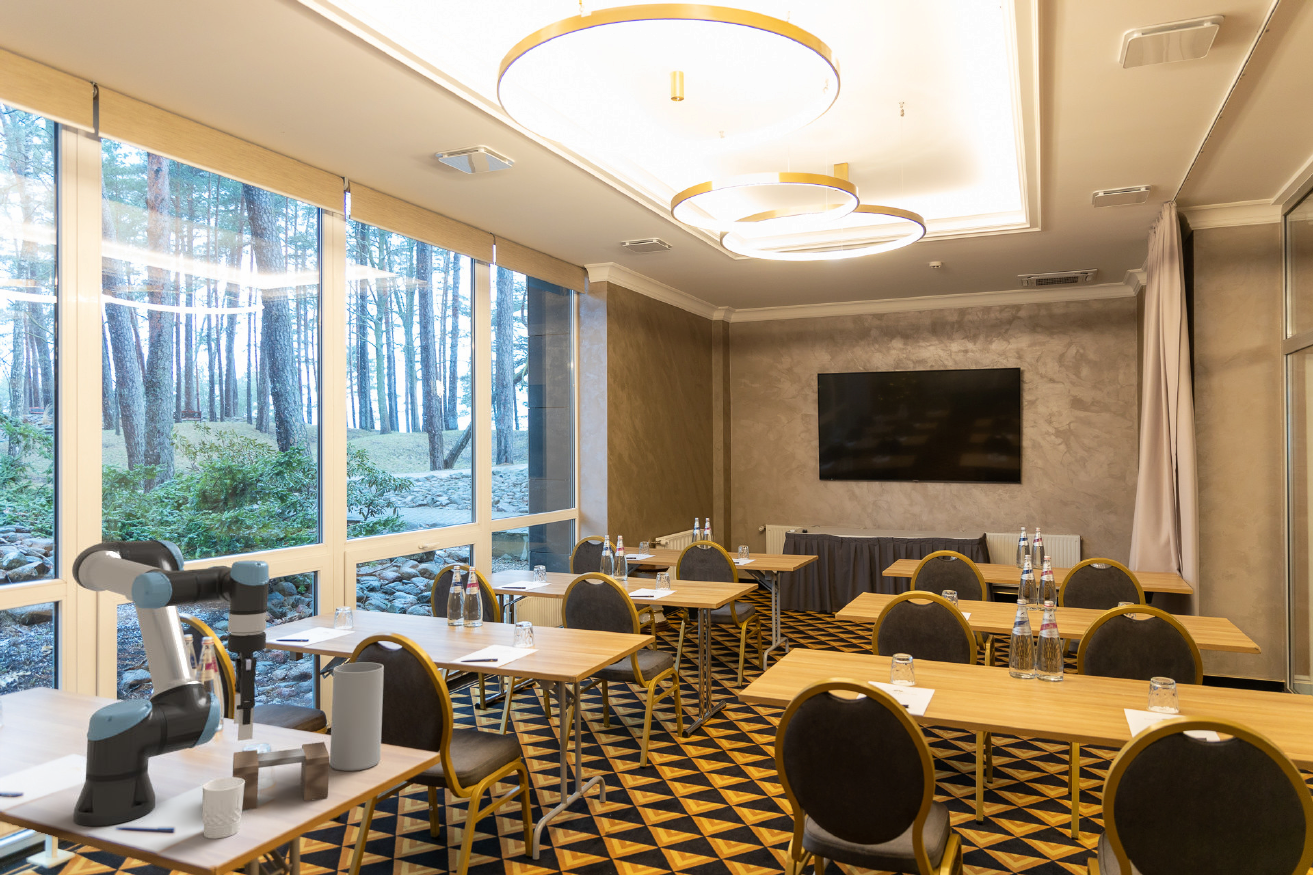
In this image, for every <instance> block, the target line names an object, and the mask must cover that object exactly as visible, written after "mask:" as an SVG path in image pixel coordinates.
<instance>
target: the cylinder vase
mask: <svg viewBox="0 0 1313 875" xmlns="http://www.w3.org/2000/svg"><path fill="white" fill-rule="evenodd" d="M384 668H385V667H384V664H382V663H377V662H365V661H363V662H350V663H344V664H340V665H336V666H334V667H333V674H332V675H333V676H332V681H333V682H332V699H331V701H332V702H331V704H332V705H331V727H330V728H331V729H330V751H329V752H330V754H329V766H331V768H332V769H334V770H337V771H342V772H343V771H344V772H345V771H346V772H355V771H356V772H357V771H362V770H366V769H367V770H368V769H369V768H373V767H374V766H377V765H378V764H379V762H380V761H381V751H382V749H381V748H382V727H383V726H382V724H383V699H384V696H383V695H384V674H385V673H384V671H385V670H384Z"/></svg>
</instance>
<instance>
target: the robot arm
mask: <svg viewBox="0 0 1313 875" xmlns="http://www.w3.org/2000/svg"><path fill="white" fill-rule="evenodd" d="M184 566H185V560H184V555H183V553H182V551H181V549H180V548H179V546H178V545H177V544H176V543H175V542H173V541H170V540H166V539H162V540H161V539H159V540H158V539H148V540H133V541H130V540H129V541H106V542H100V543H97V544H93V545H91V546H89V547H87V548H86V549H84V550H83V551H81V552H80V553H79V554H78V555H77V557H76V558H75V559H74V562H73V564H72V566H71V568H72V569H71V572H72V578H73V579H74V581H75V582H76V583H77V585H79V586H80V587H82V588H83V589H86V590H89V591H93V592H105V591H109V592H112V593H115V594H119V595H122V596H125V599H126V600H128V601H130V602H133V603H134V606H135V610H136V611H135V612H136V615H137V621H138V626H139V629H140V633H141V639H142V644H143V648H144V652H145V656H146V661H147V665H148V669H149V674H150V675H149V676H150V679H151V682H152V687H153V693H152V695H151V696H150V697H149V699H145V698H135V699H130V700H129V699H126V700H122V701H121V700H120V701H117V702H115V703H112V704H111V703H110V704H108V705H105V706H104V707H101V708H99V709H98V710H97V711H95V712H94V713H93V714H91V717H90V719H89V723H88V729H87V730H88V731H87V733H86V738H87V744H86V765H85V766H86V767H85V779H84V780H85V781H84V785H82V786H83V787H82V789H81V792H80V793H79V794H80V795H79V796H78V798H77V801H76V804H75V807H74V808H73V810H74V811H73V821H74V822H75V823H76V824H78V825H80V826H87V827H100V826H101V827H102V826H103V827H104V826H109V825H110V826H111V825H117V824H121V823H126V822H129V821H133V820H136V819H139V818H141V817H143V816H146V815H147V814H150V813H151V812H152V811H153V810H154V809H155V807H156V793H155V790H154V787H153V784H152V781H151V778H150V775H149V759H150V758H152V757H153V758H154V757H159V756H161V755H166V754H170V753H173V752H178V751H183V750H186V749H187V750H188V749H193V748H196V747H198V746H201V745H205V744H207V743H209V742H210V741H211V740H212V739H213V738H214V737H215V736H216V733H217V732H218V729H219V726H220V722H221V716H222V715H221V714H222V713H221V703H220V700H219V697H218V695H216V694H215V693H213V692H209V691H208V692H206V690H205V685H204V684H203V682H201V681H199V680H197V679H196V678H195V675H194V671H193V668H192V663H191V659H190V654H189V651H188V647H187V642H186V638H185V634H184V630H183V625H182V622H181V618H180V614H179V610H178V606H186V605H196V604H205V603H206V604H207V603H215V602H228V603H229V609H228V610H229V612H228V620H227V621H228V623H227V632H229V634H228V635H227V651H228V652H229V653H233V654H237V658H235V662H234V663H235V665H234V667H235V681H234V682H235V683H234V691H235V693H234V708H233V709H234V712H233V713H234V714H233V724H234V725H237V724H238V727H237V728H238V729H237V741H245V740H252V739H253V737H254V736H253V732H254V729H253V728H254V709H255V708H254V707H255V706H256V702H255V698H256V697H255V693H256V692H255V690H256V689H255V688H256V682H255V679H256V675H257V673H256V672H257V671H256V669H257V664H258V663H257V659H256V656H254V653H255V652H260V651H263V650H265V649H266V646H267V645H266V644H267V632H265V631H266V630H267V621H269V620H270V615H267V614H268V601H269V600H268V599H269V587H270V586H269V584H270V583H269V582H270V576H269V573H270V572H269V571H270V570H269V567H270V566H269V563H267V561H265V560H238V561H235V562H233V563H232V565H231V567H230V566H226V565H214V566H210V567H208V568H195V569H187V570H185V569H184Z"/></svg>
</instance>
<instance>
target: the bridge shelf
mask: <svg viewBox="0 0 1313 875" xmlns="http://www.w3.org/2000/svg"><path fill="white" fill-rule="evenodd" d="M325 743H326V742H325V741H322V742H314V743H313V742H312V743H305V744H302V745H301V748H293V749H284V750H277V751H276V750H275V751H268V752H260V753H258V749H254V750H253V749H252V750H245V751H237V752H233V755H232V756H233V758H232V777H236V778H242V779H244V780H245V785H244V796H243V806H242V811H248V810H253V809H257V808H258V790H259V769H260V768H267V767H268V768H269V767H276V766H277V767H278V766H284V765H292V764H300V763H301V765H300V787H301V791H302V795H303V796H302V797H303V799H304V802H308V801H313V800H312V799H316V800H320V799H321V800H323V799H327V798H326V797H328V796H329V779H330V778H329V776H330V775H329V774H330V754H329V751H328V749H327V746H326V744H325Z"/></svg>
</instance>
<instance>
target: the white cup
mask: <svg viewBox="0 0 1313 875" xmlns="http://www.w3.org/2000/svg"><path fill="white" fill-rule="evenodd" d="M244 785H245V780H244V779H242V778H236V777H233V776H232V777H231V776H229V777H222V778H216V779H212V780H210V781H207V782H206V783H204V784H203V786H202V823H203V836H204V837H205V838H208V839H213V840H214V839H224V838H228V837H231V836H233V835H235V834H237V833H238V832H239V831H240V829H241V828H240V827H241V816H242V813H243V810H242V806H243V796H244Z"/></svg>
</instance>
